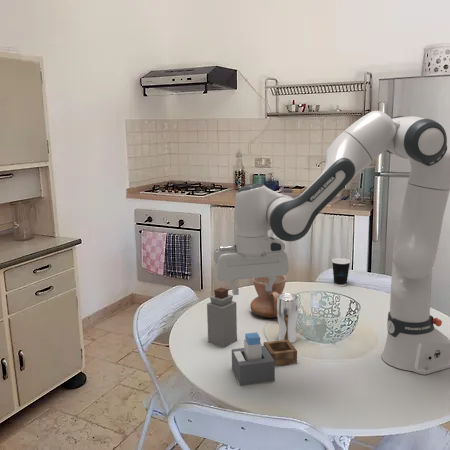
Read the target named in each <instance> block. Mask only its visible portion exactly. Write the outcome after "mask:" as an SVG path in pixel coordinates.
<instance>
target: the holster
mask: <svg viewBox="0 0 450 450" xmlns="http://www.w3.org/2000/svg"><path fill="white" fill-rule="evenodd" d="M264 345H265V347H266V349H267V350H268V352H269V353H270V355H271V356H272V358H273V359H274V361H275V367H281V366H285V365H293V364H295V365H296V364H298V350H297V349H296V347H295V346H294V345H293V343H291V342H290V341H289V340H272V341H263V346H264Z"/></svg>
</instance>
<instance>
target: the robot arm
mask: <svg viewBox="0 0 450 450" xmlns="http://www.w3.org/2000/svg"><path fill="white" fill-rule="evenodd" d="M447 144H448V137H447V133H446V130H445V129H444V127H443V126H442V125H441V124H440V123H439V122H437V121H435V120H433V119H430V118H424V117H420V116H416V115H413V116H404V115H397V116H392V117H390V115H389V114H387V113H385V112H384V111H381V110H372V111H370V112H367V113H366V114H365V115H363V116H362V117H360V118H358V119H357V120H356V121H355V122H353V123H352V124H350V125H349V126H348V127H347V128H346V129H345V130H344V131H343V132H341V133H340V134H339V135H338V136H337V137H336V138H334V140H333V141H332V143H330V145H329V146H328V148H327V149H326V151H325V165H324V168H323V170H322V172H321V174H320V175H319V176H318V177H317V178H316V179H315V180H314V181H313V182H312V183H311V184H310V185H309V186H308V187H306V189H305V190H304V191H303V192H302V193H301V194H300V195H298V196H297V197H294V198H293V197H292V196H290V195H286V194H283V193H280V192H277V191H275V190H273V189H271V188H268V187H267V186H266V185H265V184H262V183H252V184H247V185H244V186H242V187H240V188H239V189H238V190H237V191H236V194H235V197H234V221H235V227H236V228H235V231H234V243H235V244H234V245H227V246H219V247H218V248H216V249H215V251H214V252H213V260H214V262H215V265H214V276H215V278H216V280H218V281H219V282H225V281H227V283H228V284H229V286H230V287H231V292H232V294H231V295H232V296H238V295H239V294H240V293H239V289H240V288H239V287H238V286H235V285H234V284H235V281H237V280H246V279H249V280H250V279H253V278H261V277H269V278H270V280H269V282H268V284H265V291H266V292H270V291H272V285H273V284H274V282H275V280H276V276H282V275H284V276H286V275H287V274H288V273H289V269H290V268H289V258H288V254H287V253H286V251H285V249H286V244H285V243H284V242H283V241H285V242H296V241H298V240H301V239H303V238H304V237H305V236H306V235H307V234H308V233H309V231H310V229H311V227H312V226H313V223H314V221H315V219H316V218H317V216H318V214H320V212H321V211H322V210H323V209H325V208H326V206H327V205H328V204H329V203H330V202H332V201H333V200H334V198H335V197H336V196H338V194H339V193H340V192H341V191H342V190H343V189H344V188H345V187H346V186H347V185H348V184H349V183H350V182H351V181H352V180H353V179H354V178H355V177H356V176H358V175H359V174H361V172H362V171H364V170H365V169H366V168H367V167H368V166H369V165H370V164H372V163H373V162H374V161H375V160H376V159H377V158H378V157H380V155H381V154H383V153H384V152H387V153H389V154H391V155H395V156H397V157H399V158H402V159H408V160H409V163H410V172H409V176H408V179H407V185H406V189H405V192H404V193H405V195H404V198H403V202H402V207H401V212H400V217H399V221H398V227H397V231H396V237H395V239H394V242H393V249H392V264H391V265H392V269H391V284H390V302H389V311H388V314H387V322H386V323H387V327H386V328H387V335H386V341H385V344H384V347H383V351H382V353H381V358H382V360H383V361H384V363H386V364H388V365H390V366H392V367H393V368H397V369H399V370H404V371H410V372H414V373H417V374H420V375H428V374H432V373H436V372H439V371H442V370H446V369H450V339H449V337H448V336H447V335H445V334H444V333H442V332H441V331H440V330H439V329H437V328H436V327H441V326H442V325H443V321H442V319H439V318H438V317H434V316H432V315H431V302H432V284H433V283H432V280H433V277H432V276H433V268H434V266H435V262H436V257H437V253H438V249H439V248H438V247H439V243H440V238H441V233H442V227H443V221H444V216H445V212H446V208H447V203H448V199H449V196H450V195H449V194H450V149H448V145H447ZM270 230H271V231H272V233H273V234H274V236H276V237H272V236H269V235H268V233H269V231H270ZM435 326H436V327H435Z"/></svg>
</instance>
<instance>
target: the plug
mask: <svg viewBox="0 0 450 450" xmlns="http://www.w3.org/2000/svg"><path fill="white" fill-rule="evenodd" d="M244 337H245V339H243V348H244V359H245V361H249V360H257V359H262V346H263V345H262V343H261V336H260V335H259V334H258V332H257V331H256V332H247V333H245V336H244Z"/></svg>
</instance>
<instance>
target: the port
mask: <svg viewBox="0 0 450 450" xmlns="http://www.w3.org/2000/svg"><path fill="white" fill-rule="evenodd" d="M231 369H232V371H233V373H234V376H235V378H236V380H237V382H238V384H239V386H248V385H256V384H262V383H263V384H264V383H269V382H270V383H271V382H275V381H276V366H275V361H274V359H273V358H272V356H271V355H270V353H269V352H268V350H267V349H266V347H265V345H264V344H263V345H262V359H257V360H249V361H245V359H244V347H241V348H240V347H239V348H232V349H231Z"/></svg>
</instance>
